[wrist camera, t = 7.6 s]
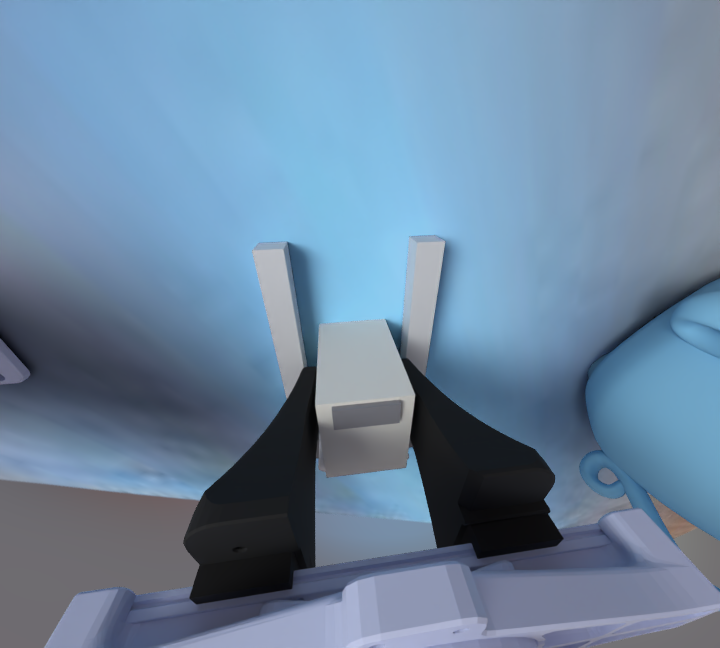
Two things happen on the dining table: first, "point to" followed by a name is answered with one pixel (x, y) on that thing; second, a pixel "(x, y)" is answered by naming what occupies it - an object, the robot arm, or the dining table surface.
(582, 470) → the decorative pot
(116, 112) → the dining table surface
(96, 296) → the dining table surface
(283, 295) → the socket
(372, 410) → the plug block
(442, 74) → the dining table surface
